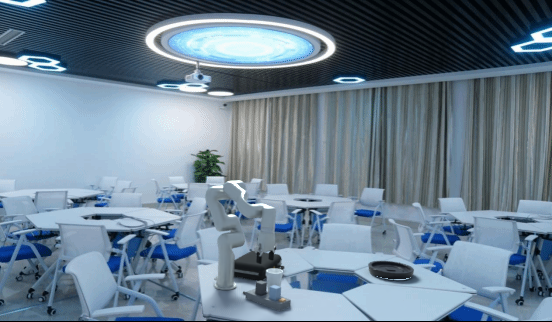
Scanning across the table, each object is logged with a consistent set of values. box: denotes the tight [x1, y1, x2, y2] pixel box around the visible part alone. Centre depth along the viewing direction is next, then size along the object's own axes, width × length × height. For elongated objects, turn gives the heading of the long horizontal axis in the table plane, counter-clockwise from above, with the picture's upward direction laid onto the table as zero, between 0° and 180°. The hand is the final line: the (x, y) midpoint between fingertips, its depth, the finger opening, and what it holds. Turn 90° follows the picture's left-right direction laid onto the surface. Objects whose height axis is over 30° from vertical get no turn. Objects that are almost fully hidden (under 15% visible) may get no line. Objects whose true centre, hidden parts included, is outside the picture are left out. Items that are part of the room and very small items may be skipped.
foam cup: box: [266, 269, 284, 292], centre depth 220 cm, size 10×9×13 cm
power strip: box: [242, 280, 291, 312], centre depth 209 cm, size 30×9×10 cm, turn 50°
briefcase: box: [234, 250, 286, 282], centre depth 258 cm, size 36×32×10 cm
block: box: [269, 285, 282, 301], centre depth 203 cm, size 4×4×8 cm
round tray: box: [368, 260, 415, 279], centre depth 267 cm, size 30×6×30 cm
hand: (264, 261), depth 207 cm, fingers open, 9 cm apart
